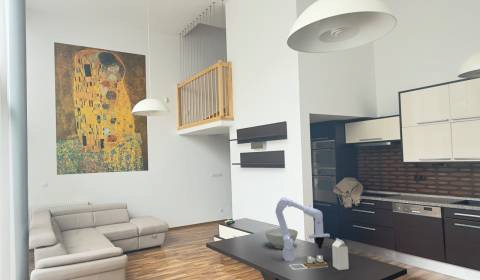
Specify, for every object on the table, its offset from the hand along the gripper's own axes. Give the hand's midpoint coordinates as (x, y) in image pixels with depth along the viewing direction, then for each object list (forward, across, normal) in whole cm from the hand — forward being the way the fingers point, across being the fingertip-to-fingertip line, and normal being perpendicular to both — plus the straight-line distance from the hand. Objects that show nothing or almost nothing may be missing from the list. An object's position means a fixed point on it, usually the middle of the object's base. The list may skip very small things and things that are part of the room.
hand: (319, 248), depth 213 cm
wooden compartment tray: (+10, -7, -8) cm, 15 cm away
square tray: (+10, -19, -7) cm, 23 cm away
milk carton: (+10, +7, -15) cm, 20 cm away
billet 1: (+8, -11, -8) cm, 16 cm away
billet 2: (+8, -4, -8) cm, 12 cm away
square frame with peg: (+10, -5, -1) cm, 11 cm away
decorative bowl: (+10, -13, +45) cm, 48 cm away
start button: (+9, -5, -1) cm, 11 cm away
